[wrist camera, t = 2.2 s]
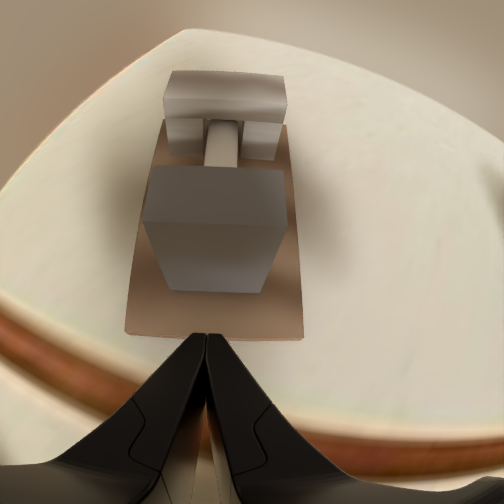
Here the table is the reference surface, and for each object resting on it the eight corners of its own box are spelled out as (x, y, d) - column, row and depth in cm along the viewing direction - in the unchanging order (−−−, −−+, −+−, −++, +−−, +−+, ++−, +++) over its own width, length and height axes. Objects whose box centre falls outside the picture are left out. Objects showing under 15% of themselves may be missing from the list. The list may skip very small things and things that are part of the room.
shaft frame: (299, 340, 21) (338, 315, 14) (129, 334, 20) (88, 306, 13) (283, 133, 30) (299, 72, 23) (164, 127, 28) (157, 65, 22)
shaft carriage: (259, 293, 21) (288, 227, 13) (170, 289, 20) (141, 221, 12) (256, 148, 26) (272, 63, 18) (188, 145, 26) (183, 58, 18)
